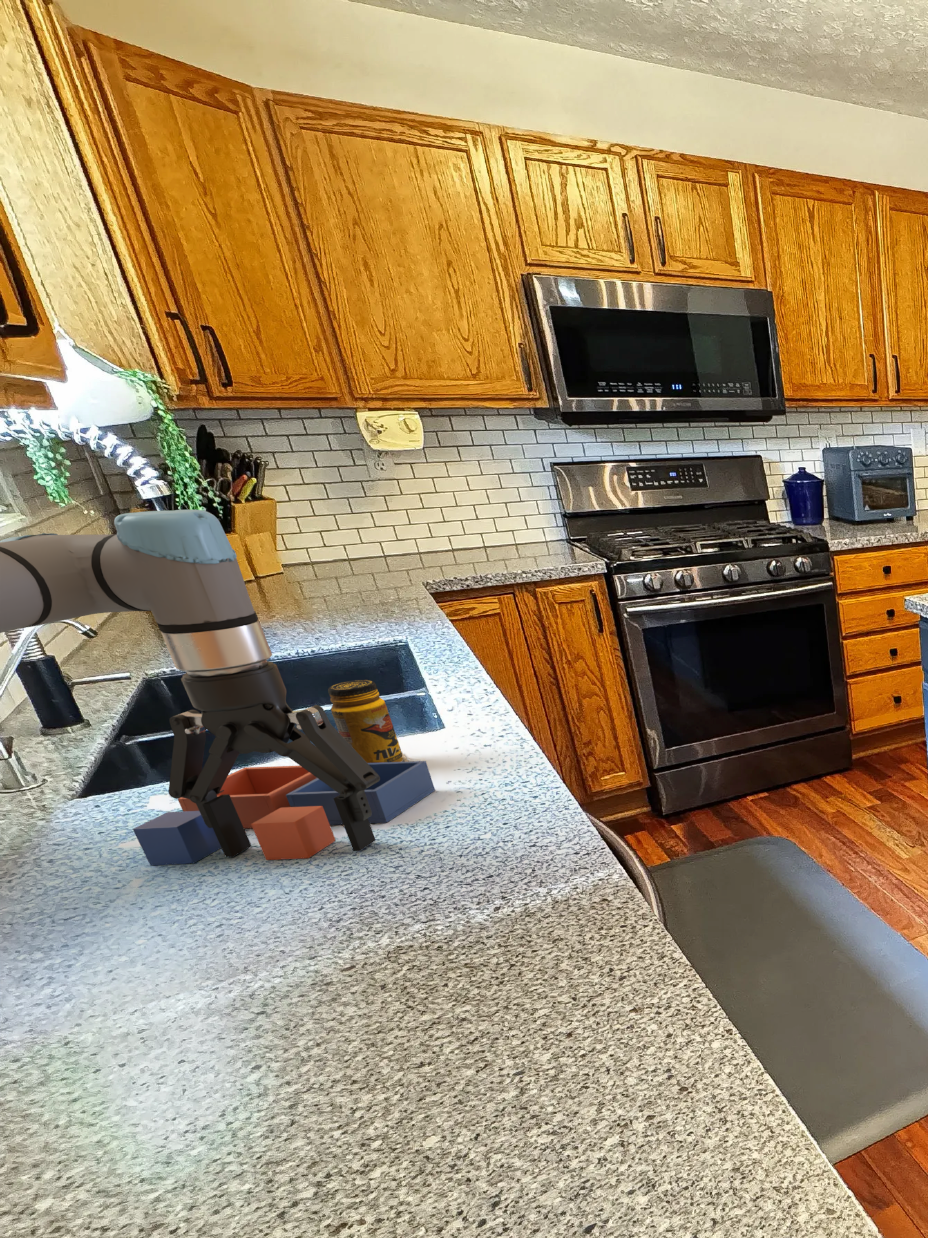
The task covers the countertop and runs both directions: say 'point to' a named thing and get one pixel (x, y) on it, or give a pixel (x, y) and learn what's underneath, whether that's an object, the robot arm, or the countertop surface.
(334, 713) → the condiment
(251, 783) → the terracotta bin
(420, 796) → the blue bin
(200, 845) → the blue block
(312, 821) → the terracotta block
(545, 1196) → the countertop surface
